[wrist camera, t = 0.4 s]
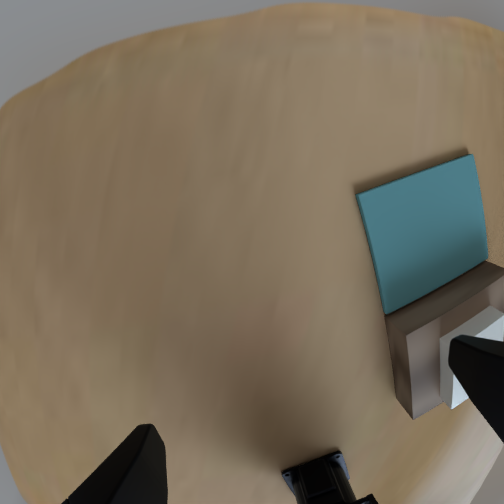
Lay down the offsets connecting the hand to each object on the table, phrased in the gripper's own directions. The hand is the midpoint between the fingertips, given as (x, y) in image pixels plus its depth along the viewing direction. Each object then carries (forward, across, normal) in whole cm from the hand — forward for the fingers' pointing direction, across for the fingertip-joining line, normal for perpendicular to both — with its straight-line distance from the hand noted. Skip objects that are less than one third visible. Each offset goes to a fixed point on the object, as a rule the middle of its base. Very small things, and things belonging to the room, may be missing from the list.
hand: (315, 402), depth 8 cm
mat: (+14, -14, +1) cm, 20 cm away
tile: (+11, -16, +11) cm, 22 cm away
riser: (+14, -16, +11) cm, 24 cm away
